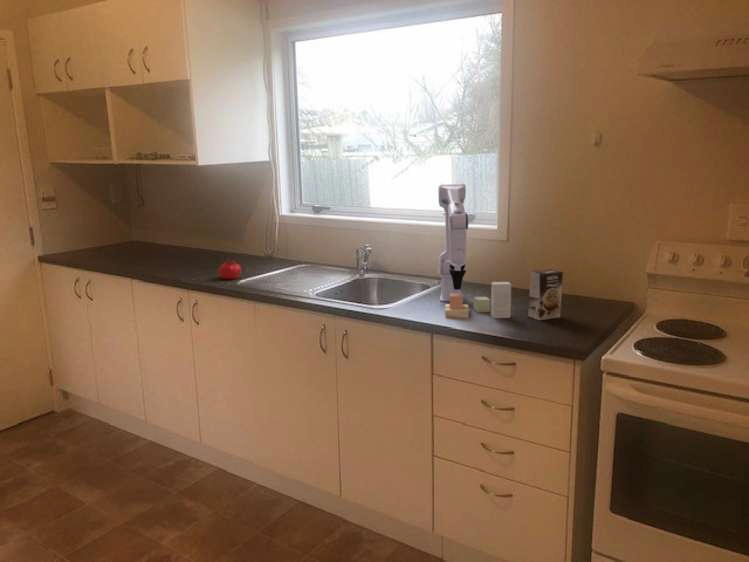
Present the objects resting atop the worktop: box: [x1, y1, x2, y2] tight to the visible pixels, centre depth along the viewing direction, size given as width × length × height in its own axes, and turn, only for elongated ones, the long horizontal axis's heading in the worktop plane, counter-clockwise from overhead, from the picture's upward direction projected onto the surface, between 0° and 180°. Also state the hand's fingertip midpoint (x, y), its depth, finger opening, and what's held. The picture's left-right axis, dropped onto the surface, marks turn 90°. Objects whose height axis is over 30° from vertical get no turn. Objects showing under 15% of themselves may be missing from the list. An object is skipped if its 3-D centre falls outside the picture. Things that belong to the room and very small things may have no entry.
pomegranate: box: [218, 257, 242, 280], centre depth 279 cm, size 10×10×9 cm
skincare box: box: [490, 281, 512, 319], centre depth 213 cm, size 6×4×12 cm
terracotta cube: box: [449, 292, 464, 309], centre depth 217 cm, size 4×4×4 cm
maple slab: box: [444, 303, 470, 319], centre depth 218 cm, size 8×8×3 cm
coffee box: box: [527, 268, 564, 321], centre depth 212 cm, size 9×6×16 cm
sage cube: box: [473, 296, 491, 313], centre depth 222 cm, size 4×4×4 cm
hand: (457, 286), depth 216 cm, fingers open, 7 cm apart
